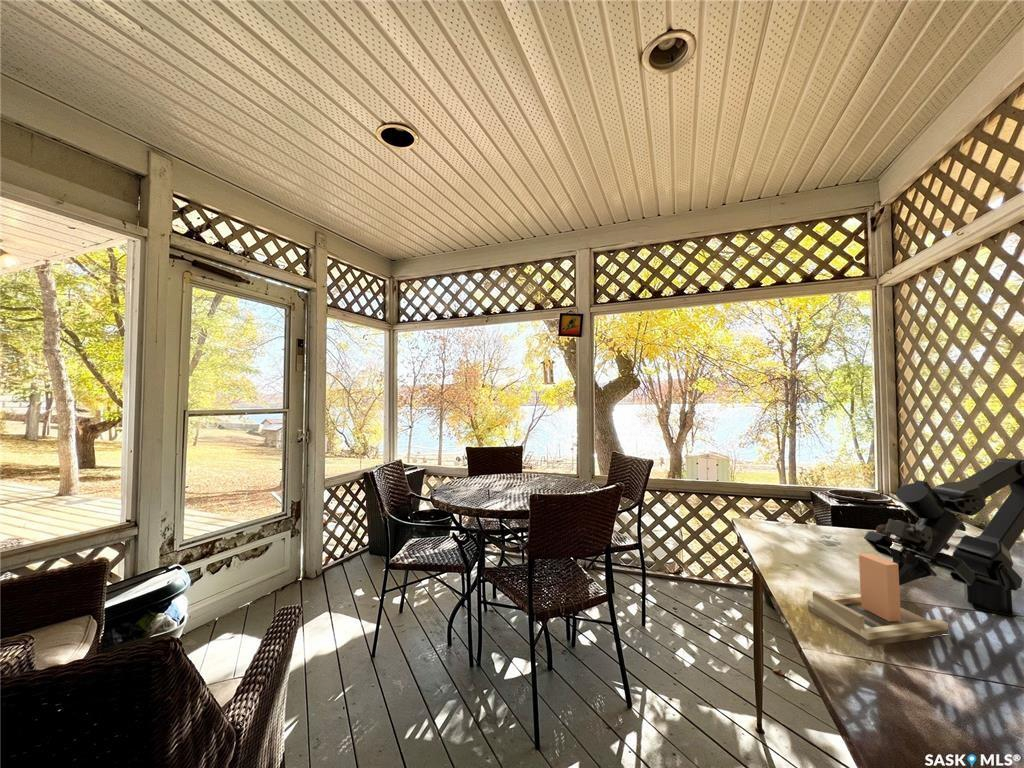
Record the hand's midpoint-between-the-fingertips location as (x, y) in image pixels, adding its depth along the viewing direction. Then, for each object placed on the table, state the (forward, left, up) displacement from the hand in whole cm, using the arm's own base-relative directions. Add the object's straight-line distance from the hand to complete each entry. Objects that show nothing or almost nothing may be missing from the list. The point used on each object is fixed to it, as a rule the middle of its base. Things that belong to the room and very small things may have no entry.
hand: (893, 584), depth 91 cm
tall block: (+3, +3, -6) cm, 7 cm away
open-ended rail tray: (+4, +4, -8) cm, 10 cm away
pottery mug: (-8, -62, -8) cm, 63 cm away
